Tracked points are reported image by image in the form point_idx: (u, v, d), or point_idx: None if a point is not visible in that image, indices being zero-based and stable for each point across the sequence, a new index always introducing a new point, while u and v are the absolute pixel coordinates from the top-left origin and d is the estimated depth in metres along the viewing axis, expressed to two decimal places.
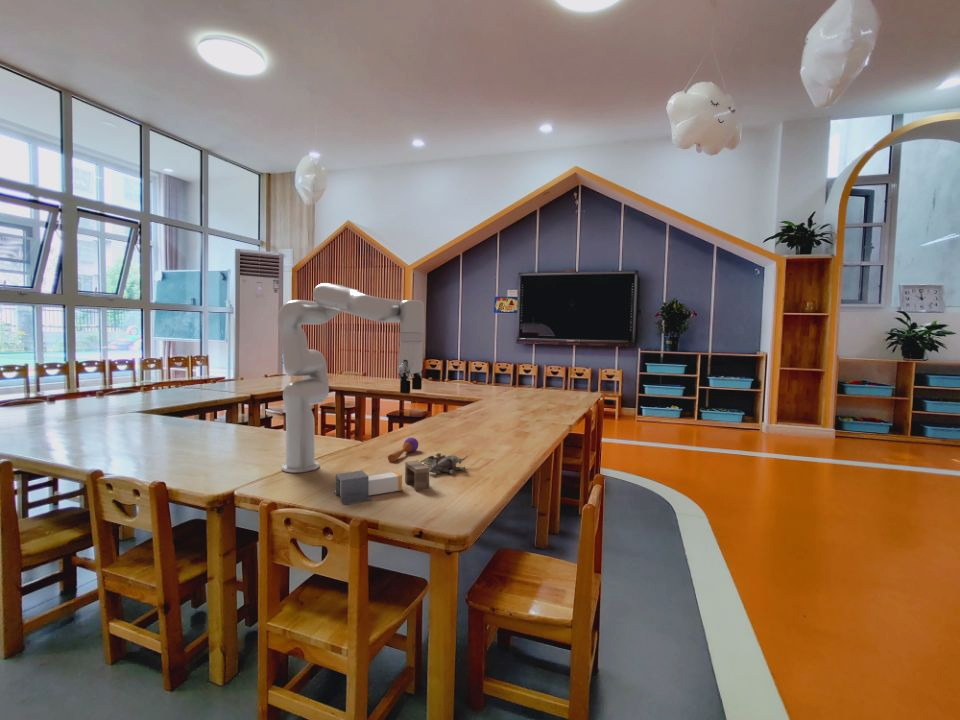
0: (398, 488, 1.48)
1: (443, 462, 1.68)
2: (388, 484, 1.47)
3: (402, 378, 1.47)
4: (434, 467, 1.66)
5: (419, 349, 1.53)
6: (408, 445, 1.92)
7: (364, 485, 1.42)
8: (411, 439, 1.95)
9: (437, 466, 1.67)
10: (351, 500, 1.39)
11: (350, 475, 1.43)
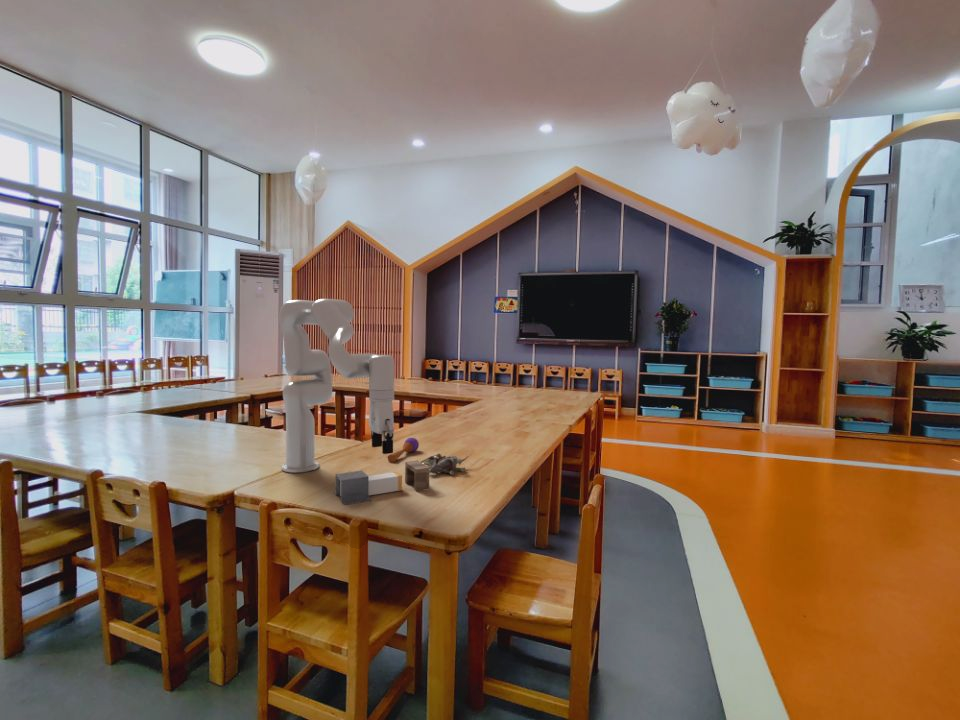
0: (398, 488, 1.48)
1: (443, 463, 1.67)
2: (388, 484, 1.47)
3: (388, 438, 1.41)
4: (434, 468, 1.65)
5: None
6: (409, 445, 1.92)
7: (364, 485, 1.42)
8: (411, 439, 1.95)
9: (437, 467, 1.66)
10: (351, 500, 1.39)
11: (350, 475, 1.43)
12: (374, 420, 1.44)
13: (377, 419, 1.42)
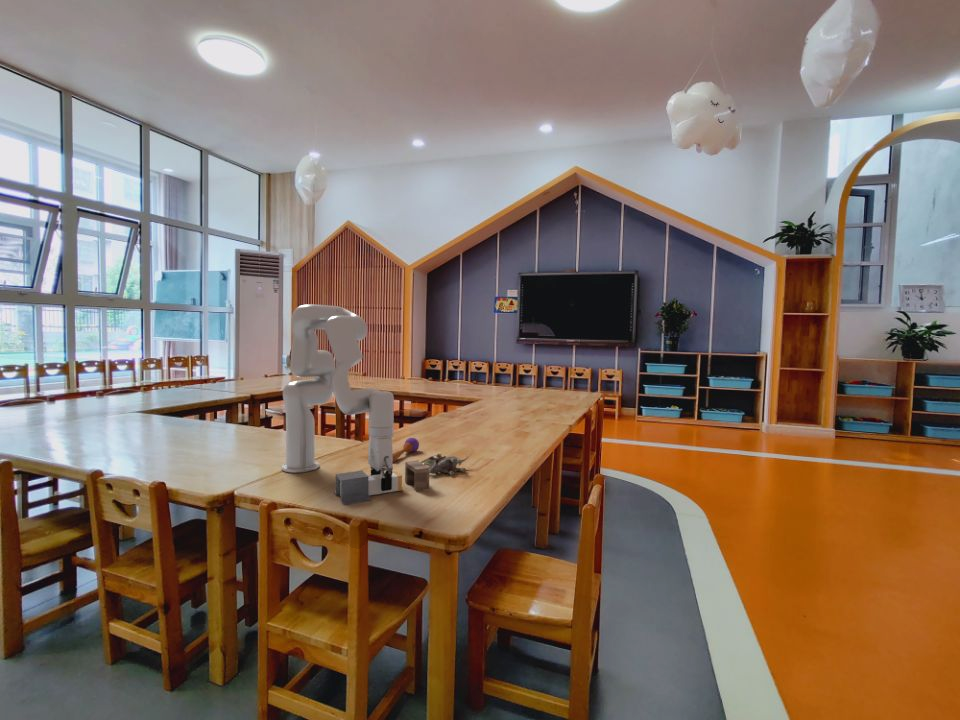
0: (398, 488, 1.48)
1: (443, 463, 1.67)
2: None
3: (387, 476, 1.42)
4: (434, 468, 1.65)
5: None
6: (409, 445, 1.92)
7: (364, 485, 1.42)
8: (411, 439, 1.95)
9: (437, 467, 1.66)
10: (351, 500, 1.39)
11: (350, 475, 1.43)
12: (373, 457, 1.45)
13: (376, 456, 1.43)
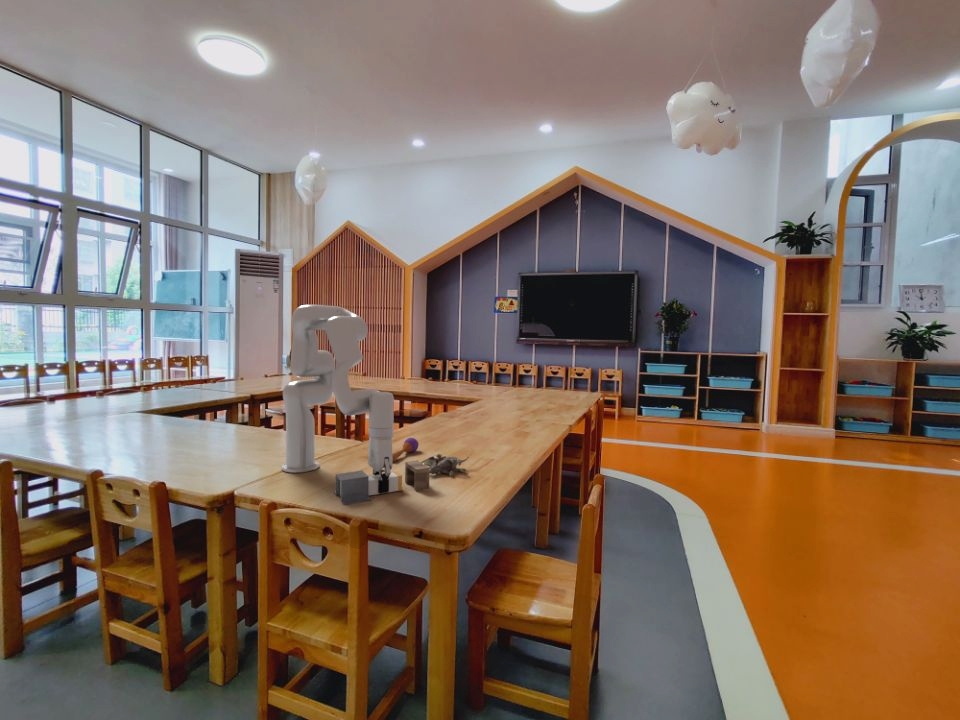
0: (398, 488, 1.48)
1: (443, 463, 1.66)
2: None
3: (384, 478, 1.44)
4: (433, 468, 1.64)
5: None
6: (408, 445, 1.92)
7: (364, 485, 1.42)
8: (411, 439, 1.95)
9: (436, 467, 1.65)
10: (351, 500, 1.39)
11: (350, 475, 1.43)
12: (373, 457, 1.45)
13: (376, 457, 1.43)
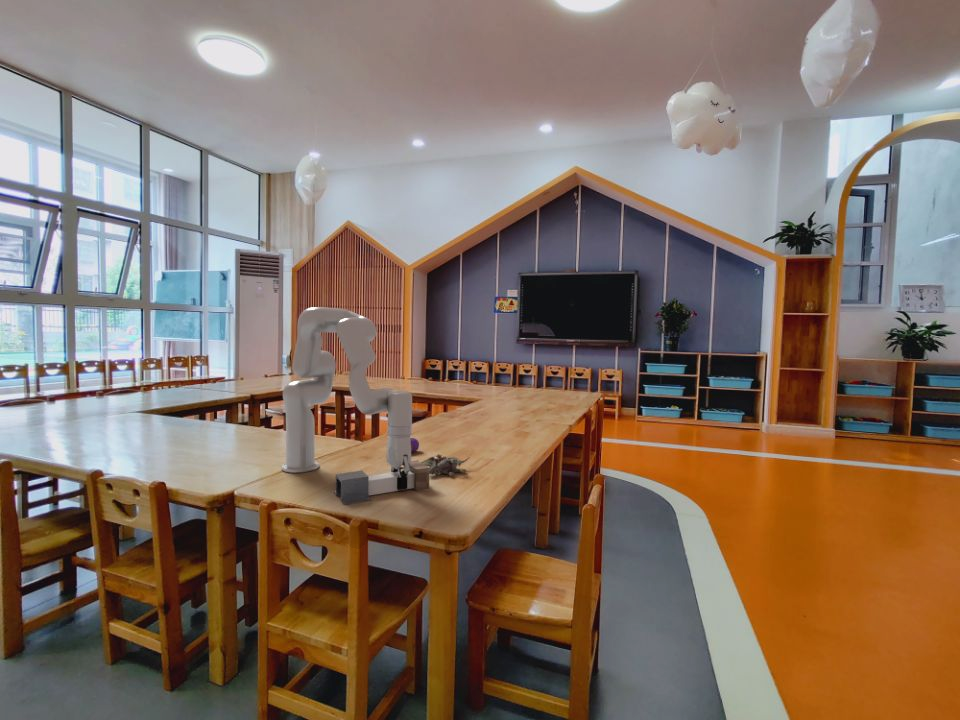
0: None
1: (442, 464, 1.66)
2: (407, 481, 1.50)
3: (403, 475, 1.47)
4: (433, 469, 1.64)
5: None
6: None
7: (364, 485, 1.42)
8: (412, 439, 1.94)
9: (436, 468, 1.65)
10: (351, 500, 1.39)
11: (350, 475, 1.43)
12: (392, 455, 1.48)
13: (395, 455, 1.46)
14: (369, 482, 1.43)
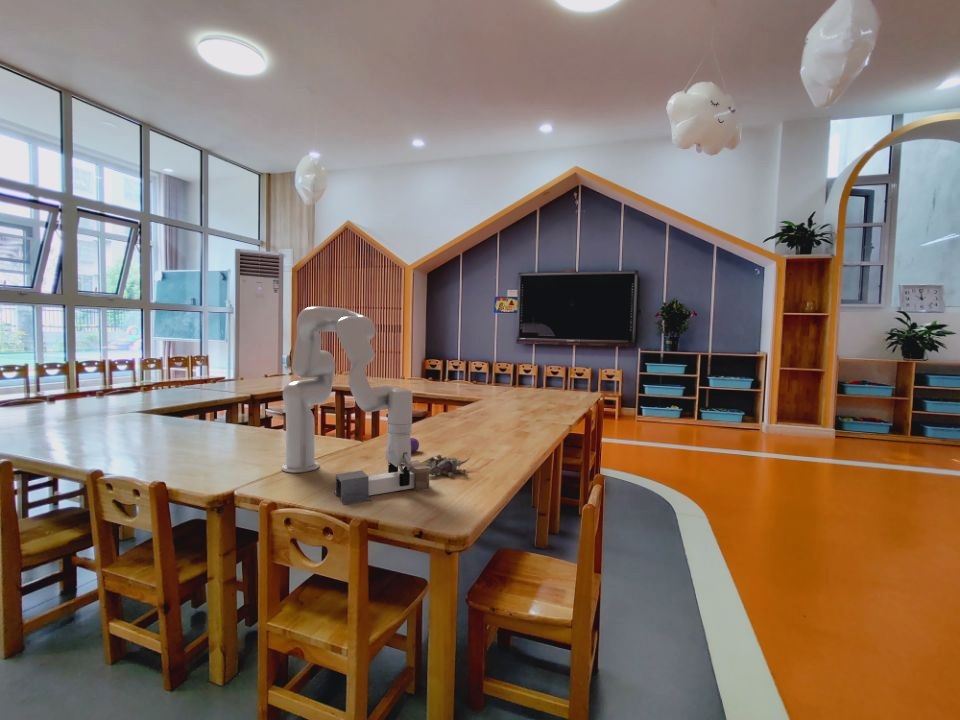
0: None
1: (442, 464, 1.65)
2: None
3: (406, 472, 1.45)
4: (432, 469, 1.63)
5: None
6: None
7: (364, 485, 1.42)
8: (411, 439, 1.94)
9: (436, 468, 1.64)
10: (351, 500, 1.39)
11: (350, 475, 1.43)
12: (392, 452, 1.48)
13: (395, 452, 1.46)
14: (369, 482, 1.43)
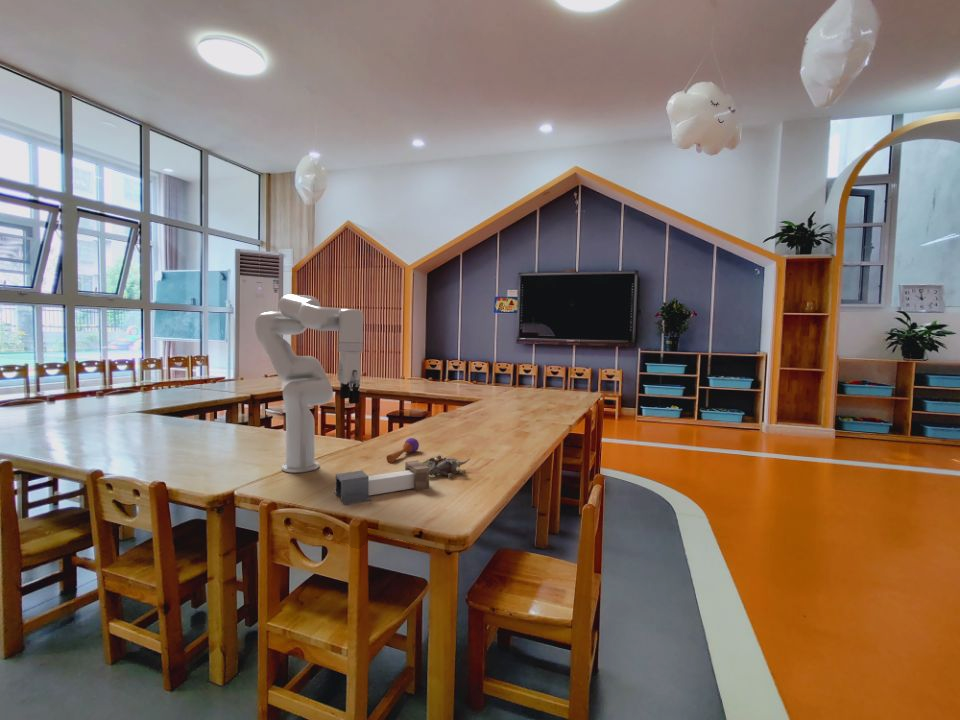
0: None
1: (442, 465, 1.65)
2: (407, 481, 1.50)
3: (355, 389, 1.47)
4: (432, 470, 1.63)
5: None
6: (408, 446, 1.91)
7: (364, 485, 1.42)
8: (411, 439, 1.94)
9: (435, 469, 1.64)
10: (351, 500, 1.39)
11: (350, 475, 1.43)
12: (342, 371, 1.50)
13: (345, 370, 1.47)
14: (369, 482, 1.43)
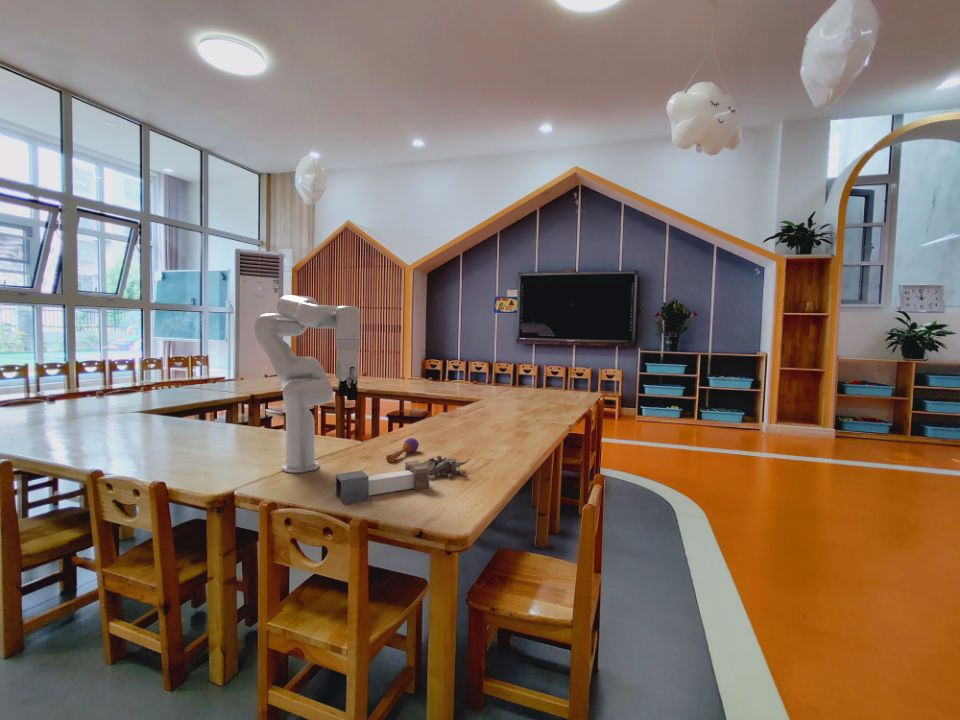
0: None
1: (441, 465, 1.64)
2: (407, 481, 1.50)
3: (353, 385, 1.47)
4: (432, 470, 1.62)
5: None
6: (408, 446, 1.91)
7: (364, 485, 1.42)
8: (411, 440, 1.94)
9: (435, 469, 1.63)
10: (351, 500, 1.39)
11: (350, 475, 1.43)
12: (340, 368, 1.50)
13: (342, 367, 1.47)
14: (369, 482, 1.43)
